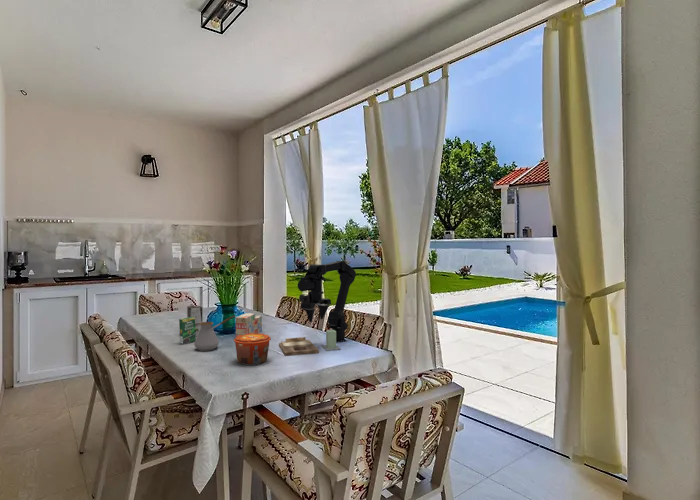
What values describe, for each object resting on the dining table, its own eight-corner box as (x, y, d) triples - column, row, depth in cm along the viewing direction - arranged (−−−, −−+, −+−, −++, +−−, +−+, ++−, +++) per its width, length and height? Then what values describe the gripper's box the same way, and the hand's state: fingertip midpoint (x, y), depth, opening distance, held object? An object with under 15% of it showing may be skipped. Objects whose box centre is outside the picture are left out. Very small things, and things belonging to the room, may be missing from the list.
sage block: (333, 345, 215) (333, 329, 214) (336, 347, 211) (336, 331, 211) (326, 346, 213) (326, 330, 213) (328, 348, 210) (328, 331, 209)
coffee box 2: (182, 344, 218) (182, 319, 218) (179, 344, 220) (178, 318, 219) (196, 341, 225) (195, 316, 224) (192, 340, 226) (192, 316, 226)
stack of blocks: (251, 331, 250) (251, 310, 250) (262, 331, 249) (261, 310, 249) (235, 339, 229) (235, 317, 229) (246, 340, 228) (246, 317, 228)
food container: (276, 357, 196) (276, 333, 196) (261, 367, 181) (261, 342, 181) (244, 354, 200) (244, 332, 200) (227, 364, 185) (227, 340, 184)
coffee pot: (199, 353, 202) (199, 321, 202) (190, 348, 211) (190, 318, 210) (241, 346, 216) (241, 316, 216) (231, 341, 225) (231, 313, 224)
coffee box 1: (203, 336, 237) (202, 307, 237) (191, 337, 234) (190, 308, 233) (198, 333, 245) (198, 304, 244) (186, 334, 241) (186, 305, 241)
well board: (309, 343, 221) (309, 340, 221) (318, 353, 203) (318, 349, 203) (278, 346, 216) (278, 343, 216) (285, 355, 198) (285, 352, 198)
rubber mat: (335, 345, 217) (335, 344, 217) (340, 349, 209) (340, 348, 209) (321, 346, 215) (321, 345, 215) (326, 350, 207) (326, 349, 207)
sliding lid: (308, 341, 220) (308, 336, 220) (312, 345, 211) (312, 340, 211) (281, 343, 215) (281, 338, 215) (284, 347, 207) (284, 342, 207)
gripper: (314, 286, 226) (314, 316, 226) (291, 290, 210) (291, 322, 210) (331, 288, 220) (331, 318, 220) (310, 291, 204) (310, 324, 205)
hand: (316, 320), depth 214 cm, fingers open, 9 cm apart
